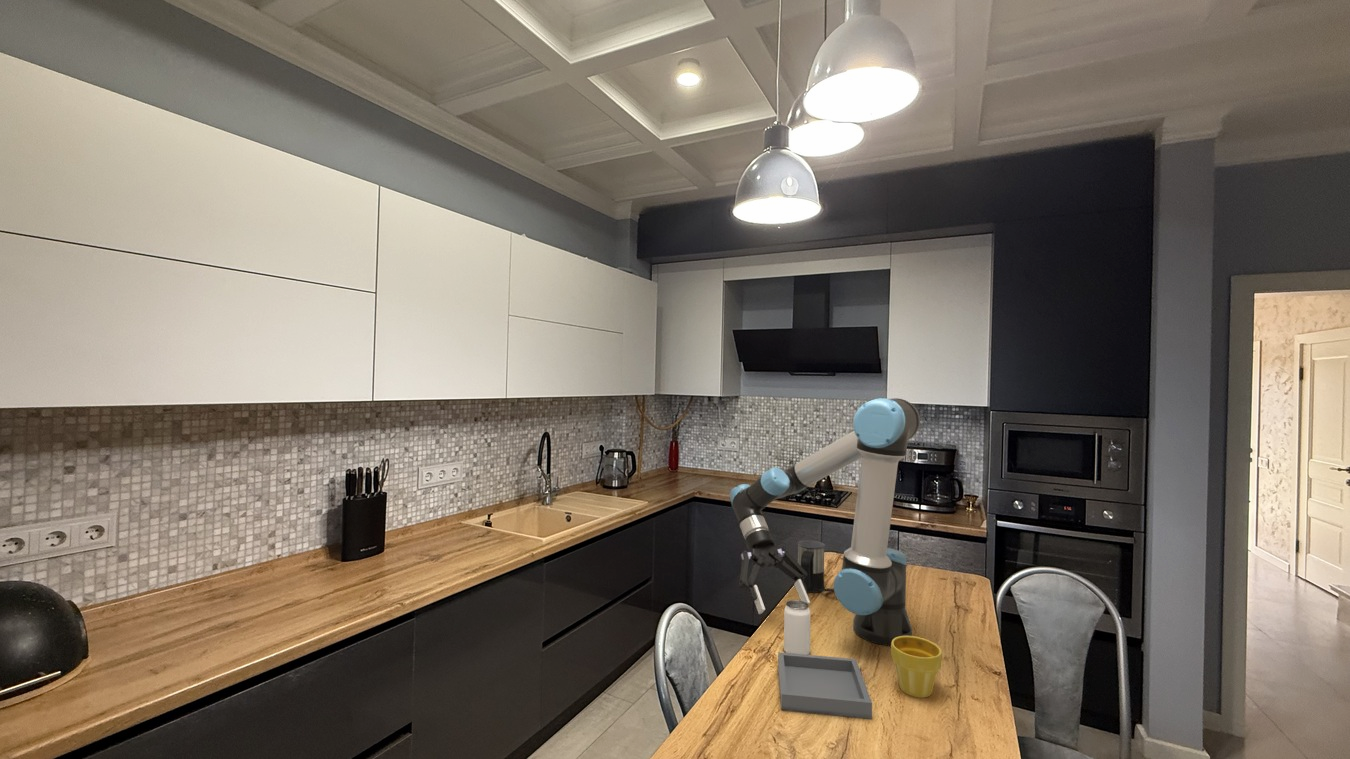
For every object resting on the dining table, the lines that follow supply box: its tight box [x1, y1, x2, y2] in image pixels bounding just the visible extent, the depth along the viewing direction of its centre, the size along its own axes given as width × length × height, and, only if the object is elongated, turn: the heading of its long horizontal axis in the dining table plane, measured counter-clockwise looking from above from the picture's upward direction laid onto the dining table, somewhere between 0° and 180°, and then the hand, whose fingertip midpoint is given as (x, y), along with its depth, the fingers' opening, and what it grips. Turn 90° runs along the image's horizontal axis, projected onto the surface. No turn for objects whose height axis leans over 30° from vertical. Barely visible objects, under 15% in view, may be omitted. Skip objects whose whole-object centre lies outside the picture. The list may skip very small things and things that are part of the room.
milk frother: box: [796, 539, 835, 594], centre depth 179 cm, size 14×16×15 cm
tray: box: [777, 651, 873, 720], centre depth 121 cm, size 18×18×3 cm
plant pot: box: [890, 635, 943, 699], centre depth 122 cm, size 10×10×10 cm
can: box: [783, 599, 811, 655], centre depth 138 cm, size 6×6×12 cm
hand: (784, 608), depth 142 cm, fingers open, 13 cm apart
